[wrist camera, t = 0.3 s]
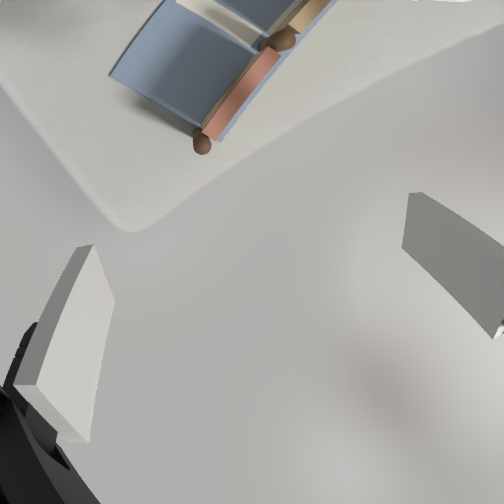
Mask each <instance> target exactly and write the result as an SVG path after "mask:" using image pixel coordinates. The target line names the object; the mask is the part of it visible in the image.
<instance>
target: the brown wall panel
mask: <svg viewBox="0 0 504 504" xmlns="http://www.w3.org/2000/svg"><path fill="white" fill-rule="evenodd" d="M331 1H332V0H303V1H302V2H301V3H300V4H299V5H298V6H297V7H296V8H295V9H294V10H293V11H292V12H291V13H290V14H289V15H288V16H287V18H286V19H285V20H284V21H283V22H282V23H281V24H280V25H279V26H278V27H277V29H276V30H275V31H274V32H273V33H272V34H271V36H269V37H267V38H265V39H264V40H262V41H260V42H259V44H258V51H259V52H260V51H262V50H264V49H265V48H266V47H268V46H269V47H270V48H272V49H273V50H274V51H276V52H277V53H278V52H281V51H285V50H288V49H291V48H292V47H294V45H295V44H296V37H295V34H298V35H299V34H301V33H302V32H303V31H304V30H305V28H306V27H307V26H308V25H309V24H310V23H311V22H312V21H313V20H314V19H315V18H316V16H317V15H318V14H319V13H320V12H321V11H322V10H323V9H324V8H325V7H326V6H327V5H328V4H329V3H330V2H331Z"/></svg>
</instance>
